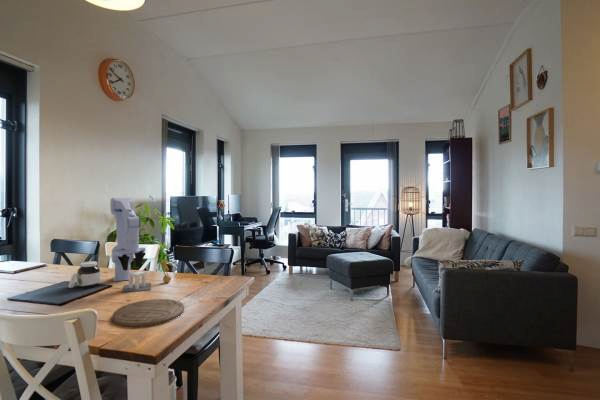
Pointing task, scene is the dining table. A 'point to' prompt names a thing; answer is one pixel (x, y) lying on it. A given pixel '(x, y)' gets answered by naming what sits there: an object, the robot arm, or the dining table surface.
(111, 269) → the dining table surface
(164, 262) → the figurine
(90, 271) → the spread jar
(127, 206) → the robot arm
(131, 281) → the stool
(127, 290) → the mat
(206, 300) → the dining table surface
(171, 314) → the trivet
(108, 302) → the dining table surface
